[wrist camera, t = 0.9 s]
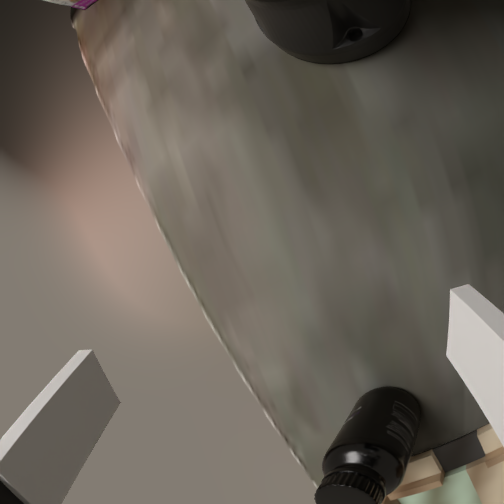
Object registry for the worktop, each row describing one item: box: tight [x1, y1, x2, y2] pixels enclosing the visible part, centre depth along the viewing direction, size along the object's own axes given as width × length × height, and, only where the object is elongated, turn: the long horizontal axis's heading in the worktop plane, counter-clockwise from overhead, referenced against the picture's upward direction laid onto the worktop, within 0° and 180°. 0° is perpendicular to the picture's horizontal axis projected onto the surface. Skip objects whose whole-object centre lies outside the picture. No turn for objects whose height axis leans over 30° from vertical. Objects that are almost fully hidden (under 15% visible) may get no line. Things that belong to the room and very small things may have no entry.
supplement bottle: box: [314, 387, 421, 504], centre depth 21 cm, size 7×7×12 cm
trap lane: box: [381, 423, 504, 504], centre depth 17 cm, size 24×18×4 cm
